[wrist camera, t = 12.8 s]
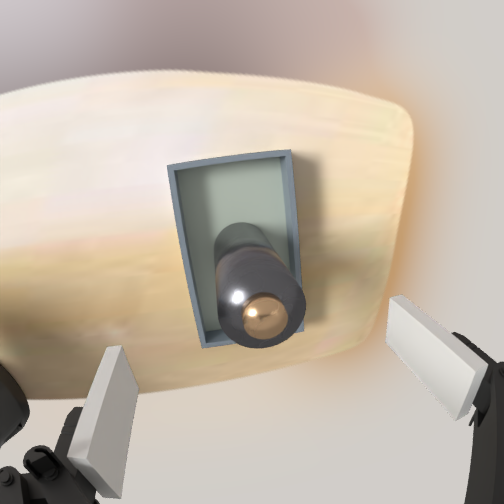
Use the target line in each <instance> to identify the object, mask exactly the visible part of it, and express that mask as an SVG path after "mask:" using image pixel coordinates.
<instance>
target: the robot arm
mask: <svg viewBox="0 0 504 504" xmlns="http://www.w3.org/2000/svg"><path fill="white" fill-rule="evenodd" d="M385 343H387V345H388V346H389V347H390V348H391V349H392V350H393V351H394V352H395V353H396V355H397V356H399V358H400V359H401V360H402V361H403V362H404V363H405V365H406V366H407V367H408V368H409V369H410V370H411V371H412V372H413V373H414V375H415V376H416V377H417V378H418V379H419V380H420V381H421V382H422V384H423V385H424V386H425V387H426V388H427V389H428V390H429V392H430V393H431V394H432V395H433V396H434V397H435V398H436V400H437V401H438V402H439V403H440V404H441V405H442V406H443V408H444V409H445V410H446V411H447V412H448V413H449V415H450V416H451V417H452V418H453V419H454V420H455V421H457V420H458V419H460V418H462V417H463V416H465V415H467V414H468V413H469V410H470V408H471V406H472V404H473V405H474V406H475V407H476V410H475V413H474V415H473V417H472V419H471V421H470V423H469V426H471V425H472V423H473V421H474V433H473V446H472V456H471V465H470V473H469V480H468V486H467V492H466V497H465V503H464V504H504V362H499V363H496V362H495V361H494V360H493V359H492V358H490V357H489V356H488V355H487V354H486V353H484V352H483V351H482V350H481V349H480V348H477V346H476V345H475V344H473V343H471V341H470V340H468V339H467V338H466V337H465V336H463V335H461V334H458V333H456V332H453V333H450V332H449V331H448V330H446V329H445V328H444V327H443V326H442V325H440V324H439V323H438V322H437V321H435V320H434V319H433V318H432V317H430V316H429V315H428V314H427V313H425V312H424V311H423V310H421V309H420V308H419V307H417V306H416V305H415V304H414V303H412V302H411V301H410V300H409V299H407V298H406V297H404V296H403V295H398V296H394V297H390V302H389V312H388V322H387V331H386V339H385ZM138 392H139V387H138V385H137V383H136V380H135V378H134V375H133V373H132V371H131V368H130V366H129V363H128V360H127V358H126V355H125V353H124V350H123V347H122V345H120V346H109V347H107V348H106V351H105V353H104V356H103V358H102V360H101V363H100V365H99V368H98V370H97V373H96V375H95V378H94V380H93V383H92V386H91V388H90V391H89V393H88V396H87V399H86V402H85V404H84V407H74V408H73V410H72V411H71V412H70V413H69V414H68V415H67V418H66V420H65V423H64V427H63V428H62V431H61V434H60V436H59V439H58V442H57V445H56V447H55V450H54V453H53V452H52V450H51V449H50V448H49V447H46V446H41V445H39V446H35V447H33V448H31V449H30V450H29V451H27V453H26V454H25V456H24V459H23V464H24V467H25V468H26V469H27V470H28V471H29V472H30V473H26V474H20V473H19V472H18V471H17V470H16V469H15V468H14V467H11V466H6V467H3V468H1V469H0V504H100V503H99V502H98V501H97V500H96V499H95V494H96V491H98V493H99V494H100V495H101V496H102V497H105V498H118V499H121V496H122V487H123V480H124V473H125V466H126V459H127V452H128V446H129V441H130V434H131V429H132V423H133V418H134V412H135V407H136V402H137V397H138ZM29 414H30V410H29V405H28V402H27V400H26V397H25V395H24V394H23V392H22V390H21V389H20V387H19V386H18V384H17V383H16V382H15V380H14V379H13V378H12V377H11V376H10V374H9V373H8V372H7V371H6V370H5V369H4V368H3V367H2V366H1V365H0V448H1V446H2V445H3V444H4V443H5V442H7V441H8V440H9V439H10V438H11V437H13V436H14V435H15V434H17V433H18V432H19V431H20V430H21V429H22V428H23V427H24V426H25V424H26V422H27V420H28V418H29Z"/></svg>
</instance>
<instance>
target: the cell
mask: <svg viewBox="0 0 504 504" xmlns="http://www.w3.org/2000/svg"><path fill="white" fill-rule="evenodd" d="M214 267H215V283H216V299H217V313H218V320H219V324H220V326H221V328H222V330H223V331H224V333H225V334H226V335H227V336H228V337H229V338H230V339H231V340H232V341H234V342H235V343H237V344H239V345H242V346H245V347H249V348H267V347H271V346H274V345H277V344H279V343H281V342H283V341H285V340H287V339H288V338H289V337H290V336H292V335H293V334H294V333H295V332H296V330H297V329H298V328H299V326H300V325H301V323H302V321H303V318H304V315H305V310H306V301H305V296H304V293H303V291H302V289H301V287H300V286H299V284H298V283H297V281H296V280H295V278H294V277H293V275H292V274H291V272H290V271H289V270H288V268H287V267H286V265H285V264H284V262H283V261H282V259H281V258H280V256H279V255H278V254H277V252H276V251H275V249H274V248H273V246H272V245H271V243H270V242H269V240H268V239H267V238H266V236H265V235H264V233H263V232H262V231H261V230H260V229H259V228H258V227H256V226H255V225H253V224H250V223H245V222H238V223H233V224H230V225H228V226H227V227H225V228H224V229H223V230H222V231H221V232H220V233H219V234H218V236H217V237H216V239H215V242H214Z"/></svg>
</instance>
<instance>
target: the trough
mask: <svg viewBox="0 0 504 504" xmlns="http://www.w3.org/2000/svg"><path fill="white" fill-rule="evenodd" d="M167 170H168V177H169V183H170V190H171V196H172V202H173V209H174V215H175V221H176V226H177V232H178V238H179V243H180V248H181V254H182V259H183V264H184V269H185V274H186V279H187V284H188V289H189V294H190V298H191V303H192V307H193V312H194V316H195V321H196V325H197V330H198V334H199V338H200V342H201V346H202V348H209V347H216V346H223V345H229V344H236V343H235V342H234V341H232V340H231V339H230V338H229V337H228V336H227V335H226V334H225V333H224V331H223V330H222V328H221V326H220V324H219V320H218V313H217V299H216V283H215V267H214V242H215V239H216V237H217V236H218V234H219V233H220V232H221V231H222V230H223V229H224V228H225V227H227V226H228V225H230V224H233V223H238V222H245V223H250V224H253V225H255V226H256V227H258V228H259V229H260V230H261V231H262V232H263V233H264V235H265V236H266V238H267V239H268V240H269V242H270V243H271V245H272V246H273V248H274V249H275V251H276V252H277V254H278V255H279V256H280V258H281V259H282V261H283V262H284V264H285V265H286V267H287V268H288V270H289V271H290V272H291V274H292V275H293V277H294V278H295V280H296V281H297V283H298V284H299V286H300V287H301V289H302V280H301V264H300V249H299V235H298V222H297V209H296V198H295V186H294V176H293V166H292V156H291V149H290V150H277V151H266V152H257V153H248V154H239V155H231V156H224V157H216V158H209V159H202V160H196V161H189V162H183V163H177V164H171V165H167ZM303 331H304V320H303V321H302V323H301V325H300V326H299V328H298V329H297V330H296V332H295V333H298V332H303Z"/></svg>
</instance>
